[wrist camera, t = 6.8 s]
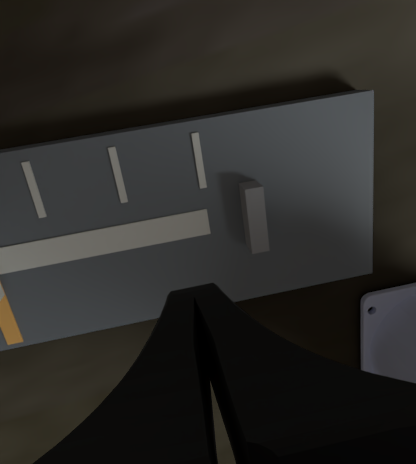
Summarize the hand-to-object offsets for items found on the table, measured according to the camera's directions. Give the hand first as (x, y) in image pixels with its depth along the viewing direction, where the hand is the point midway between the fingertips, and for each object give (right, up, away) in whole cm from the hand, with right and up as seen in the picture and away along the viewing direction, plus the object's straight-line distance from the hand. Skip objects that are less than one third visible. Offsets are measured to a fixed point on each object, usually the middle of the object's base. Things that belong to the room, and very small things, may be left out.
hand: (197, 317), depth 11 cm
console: (-3, +3, +8) cm, 9 cm away
